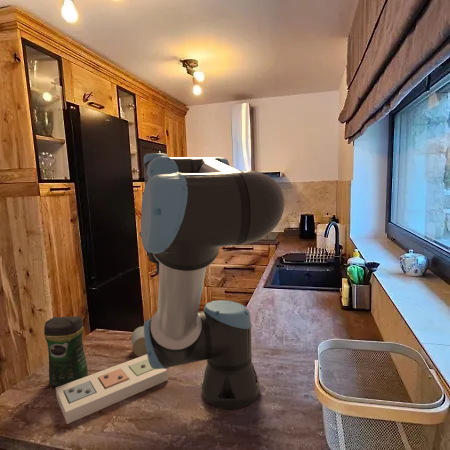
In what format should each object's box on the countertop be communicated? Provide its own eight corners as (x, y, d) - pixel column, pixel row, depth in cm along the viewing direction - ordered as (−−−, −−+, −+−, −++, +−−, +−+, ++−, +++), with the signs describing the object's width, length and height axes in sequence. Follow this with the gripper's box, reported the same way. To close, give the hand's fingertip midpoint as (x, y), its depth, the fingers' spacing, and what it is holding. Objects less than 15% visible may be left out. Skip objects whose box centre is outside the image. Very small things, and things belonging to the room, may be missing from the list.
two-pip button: (129, 388, 86) (128, 377, 86) (106, 397, 82) (105, 386, 82) (121, 378, 91) (120, 367, 90) (99, 386, 87) (98, 375, 87)
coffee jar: (92, 371, 95) (86, 311, 93) (78, 388, 87) (72, 323, 85) (60, 371, 96) (54, 312, 94) (44, 388, 88) (37, 323, 86)
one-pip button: (158, 376, 91) (157, 366, 91) (138, 385, 88) (137, 374, 87) (149, 368, 96) (148, 357, 95) (129, 375, 92) (129, 365, 92)
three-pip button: (96, 402, 81) (95, 390, 80) (70, 413, 77) (69, 401, 77) (89, 391, 86) (88, 380, 85) (65, 401, 82) (64, 389, 82)
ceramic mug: (133, 361, 100) (131, 337, 99) (132, 349, 108) (130, 327, 107) (167, 355, 104) (166, 332, 103) (163, 343, 111) (162, 322, 111)
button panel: (167, 380, 90) (167, 369, 89) (66, 424, 74) (65, 412, 74) (149, 362, 99) (149, 353, 99) (56, 398, 83) (55, 387, 83)
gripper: (172, 205, 102) (176, 277, 105) (133, 208, 94) (138, 285, 97) (184, 205, 96) (188, 282, 99) (143, 208, 88) (149, 291, 91)
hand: (164, 283), depth 98 cm, fingers closed
